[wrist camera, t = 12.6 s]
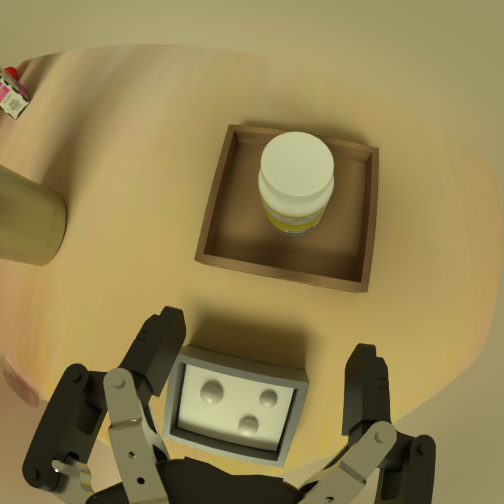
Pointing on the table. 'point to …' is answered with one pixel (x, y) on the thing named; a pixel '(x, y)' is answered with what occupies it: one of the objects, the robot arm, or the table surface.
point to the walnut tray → (287, 246)
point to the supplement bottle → (295, 181)
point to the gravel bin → (233, 405)
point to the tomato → (12, 72)
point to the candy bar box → (12, 95)
